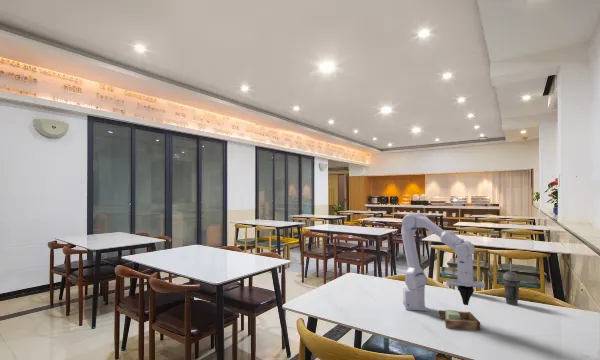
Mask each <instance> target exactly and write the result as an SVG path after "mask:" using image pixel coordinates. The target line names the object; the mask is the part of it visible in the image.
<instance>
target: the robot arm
mask: <svg viewBox="0 0 600 360" xmlns="http://www.w3.org/2000/svg"><path fill="white" fill-rule="evenodd" d="M401 221H402V222H401V223H402V224H401V230H400V232H401V238H402V242H403V243H402V244H403V248H404V253H405V254H404V255H405V259H406V265H407V269H406V271H405V279H404V283H405V285H406V287H404V288H403V290H402V292H403V296H402V297H403V299H402V302H403V306H404V308H405V310H408V311H421V312H423V311H426V312H427V311H428V309H427V307H426V306H425V305H426V303H425V301H426V299H425V297H426V296H425V293H426V292H425V291H426V290H425V288H426V285H427V284H428V278H427V275H426V274H425V272H424V269H423V268H422V267H421V265H420V259H419V255H418V250H417V245H416V241H415V235H414V234H415V233H416V232H417V230H418V229H419V228H424V229H427V230H428V231H430V232H431V233H432V234H434V235H436V236H437V237H439V239H440V241H441V242H442V243H443V244H444V245H446V246H447V247H448V248H450V249H452V251H454V253H455V255H456V258H457V259H456V263H457V264H456V265H457V267H456V269H457V272H456V274H457V276H456V277H457V279H454V280H452V279H451V280H445V286H446V287H448V288H449V287H456V288H457V289H458V292H459V294H460V296H461V300H462V304H463V305H464V306H469V303H470V299H471V296H473V293H474V291H475V289H474V288H481V289H486V283H484V282H483V281H475V280H474V270H473V269H474V266H473V265H474V264H473V263H474V262H473V261H474V260H473V259H474V258H473V254H474V253H475V252H476V249H475V248H476V247H475V246H474V244H472V242H471V241H467V240H465V239H464V238H461V237H459V236H458V235H456V234H455V232H454V231H452V230H451V231H450V230H446V231H445V230H444V229H442V228H441V227H440V226H438V224H436V223H434V222H433V221H432V220H431V219H429V217H427V216H426V215H424V214H423V213H420V212H417V213H411V214H410V213H407V214H405V216H403V218H402V219H401Z"/></svg>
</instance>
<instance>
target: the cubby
mask: <svg viewBox="0 0 600 360" xmlns="http://www.w3.org/2000/svg"><path fill="white" fill-rule="evenodd" d="M456 311H457V312H458V313H459V314H460V320H452V319H445V310H441V309H440V310H438V318H439V319H444V320H445V323H444V325H445V328H446V329H456V330H459V329H460V330H471V331H472V330H473V331H481V321H479V319H477V318H476V317H475V316H474V314H473V313H472V312H470V311H458V310H456Z"/></svg>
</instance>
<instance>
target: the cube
mask: <svg viewBox="0 0 600 360" xmlns="http://www.w3.org/2000/svg"><path fill="white" fill-rule="evenodd" d="M444 311H445V319H452V320H460V314H459V313H458V312H457V311H458V310H451V309H450V310H449V309H445V310H444ZM445 319H444V320H445Z"/></svg>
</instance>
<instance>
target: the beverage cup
mask: <svg viewBox="0 0 600 360" xmlns="http://www.w3.org/2000/svg"><path fill="white" fill-rule="evenodd" d="M502 275H503V276H502V282H503V286H504V296H505V302H506V304H507V305H509V306H518V302H519V292H520V286H521V285H520V284H521V278H520V276H519V274H518V273H516V272H515V271H512V261H509V270H508V271H506V272H504V274H502Z"/></svg>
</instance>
